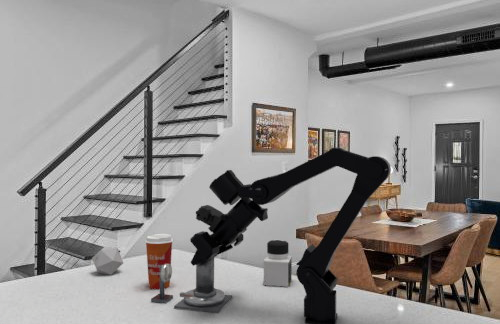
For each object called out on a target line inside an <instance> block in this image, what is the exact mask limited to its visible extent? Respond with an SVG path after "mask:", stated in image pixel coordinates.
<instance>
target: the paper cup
mask: <svg viewBox="0 0 500 324" xmlns="http://www.w3.org/2000/svg"><path fill="white" fill-rule="evenodd" d="M145 238H146V239H145V241H144V243H145V246H146V248H145V249H146V260H147V261H146V262H147V263H146V264H147V277H148V287H149V289H150V290H160V265H164V264H170V265H171V266H172V252H173V251H172V247H173V242H174V239H173V237H172V235H171V234H169V233H168V234H167V233H158V234H157V233H156V234H154V233H153V234H150V235H148V236H146V237H145ZM170 283H171V279H170V280H169V281H168V282H164V285H165V289H167V288H169V287H170V285H171V284H170Z"/></svg>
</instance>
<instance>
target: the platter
mask: <svg viewBox="0 0 500 324" xmlns="http://www.w3.org/2000/svg"><path fill="white" fill-rule="evenodd" d="M194 289H195V288H194ZM194 289H189V290H188V291H186V292H183V291H181V292H179V297H181V298H183V299H184V302H185V303H186V304H189V305H192V306H212V305H217V304H220V303H222V302H223V301H224V300H225V295H226V293H225V291H223V290H221V289H217V288H215V289H216V296H214V297H211V298H198V297H195V296H194Z"/></svg>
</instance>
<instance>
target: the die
mask: <svg viewBox="0 0 500 324" xmlns="http://www.w3.org/2000/svg"><path fill="white" fill-rule="evenodd" d="M91 259H92V261H93V264H94V266H95V269H96V271H97V273H98V274H101V275H108V276H111V275H113V274H114V273H115V272H116V271H118V269H119V268H120V267H121V266H122V265H123V264H124V261H123V258H122V256H121V253H120V250H119V248H118V247H111V246H104V247H102V248H101V249H100V251H98V252H97V253H96V254H95V255H94V256H92V258H91Z"/></svg>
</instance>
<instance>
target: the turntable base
mask: <svg viewBox="0 0 500 324" xmlns="http://www.w3.org/2000/svg"><path fill="white" fill-rule="evenodd" d="M233 297H234V296H233V294H225V300H224V301H223V302H222V303H220V304H217V305H212V306H192V305H189V304H186V303H185V302H184V298H182V299H181V300H180V301H179V302H177V303H176V304H174V305H173V309H176V310H185V311H194V312H205V313H215V314H218V313H219V312H221V310H222V309H223V308H224V307H225V306H226V305H227V304H228V303H229V302H230V301H231V300H232V299H233Z"/></svg>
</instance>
